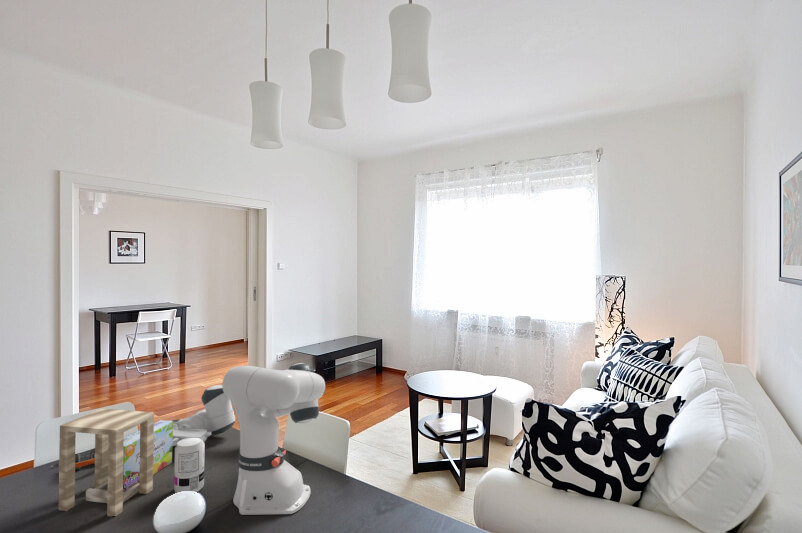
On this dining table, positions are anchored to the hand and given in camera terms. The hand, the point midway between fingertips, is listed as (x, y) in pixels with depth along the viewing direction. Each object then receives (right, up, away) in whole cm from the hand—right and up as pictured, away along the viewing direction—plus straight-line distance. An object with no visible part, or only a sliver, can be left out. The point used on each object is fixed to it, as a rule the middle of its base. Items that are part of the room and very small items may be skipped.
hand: (163, 445), depth 145 cm
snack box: (-1, -6, -11) cm, 12 cm away
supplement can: (+18, -6, -17) cm, 26 cm away
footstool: (-3, -6, -23) cm, 24 cm away
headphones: (-25, -6, -3) cm, 26 cm away
